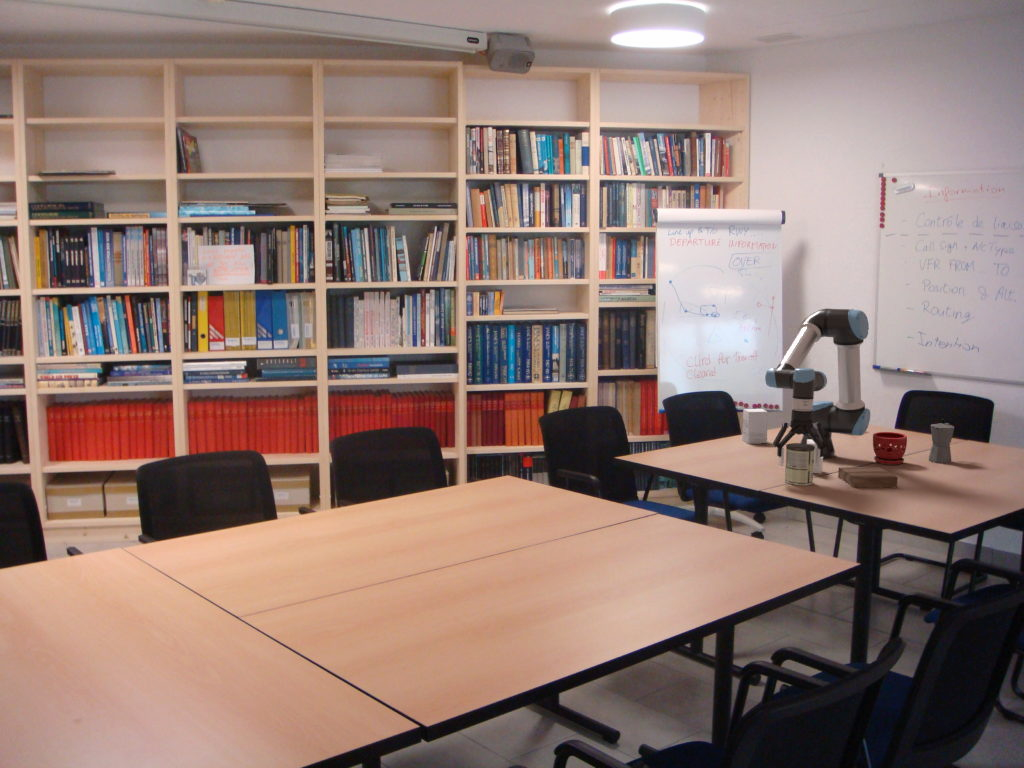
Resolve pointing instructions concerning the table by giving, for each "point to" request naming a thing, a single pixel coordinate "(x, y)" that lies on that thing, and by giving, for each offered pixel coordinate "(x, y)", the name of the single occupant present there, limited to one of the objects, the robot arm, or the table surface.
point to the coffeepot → (941, 442)
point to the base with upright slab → (815, 468)
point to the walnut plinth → (867, 477)
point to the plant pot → (889, 447)
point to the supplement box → (755, 426)
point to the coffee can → (799, 464)
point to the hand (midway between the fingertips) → (799, 465)
